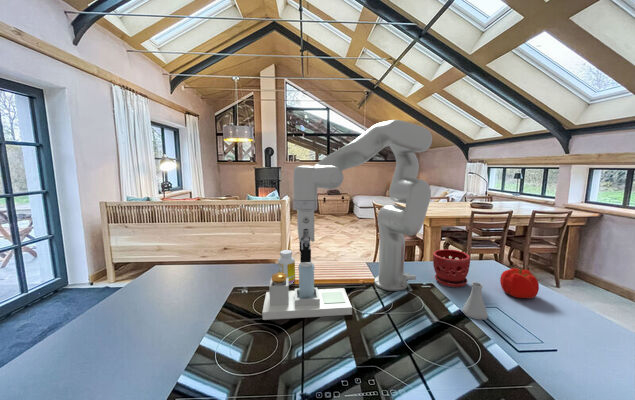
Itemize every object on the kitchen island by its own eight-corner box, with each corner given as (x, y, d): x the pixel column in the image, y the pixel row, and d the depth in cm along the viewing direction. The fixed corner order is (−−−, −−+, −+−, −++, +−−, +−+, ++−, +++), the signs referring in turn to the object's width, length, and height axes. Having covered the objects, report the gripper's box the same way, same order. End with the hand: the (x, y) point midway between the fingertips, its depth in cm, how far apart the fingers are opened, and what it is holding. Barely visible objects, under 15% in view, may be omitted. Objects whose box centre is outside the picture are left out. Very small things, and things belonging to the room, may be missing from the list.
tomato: (521, 304, 90) (524, 279, 89) (491, 288, 102) (493, 265, 101) (546, 301, 92) (549, 276, 91) (514, 285, 104) (517, 263, 103)
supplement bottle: (296, 278, 111) (296, 249, 109) (293, 286, 104) (293, 254, 103) (280, 278, 112) (280, 248, 110) (276, 285, 105) (275, 254, 103)
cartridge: (313, 295, 92) (313, 259, 90) (315, 302, 87) (314, 264, 86) (298, 295, 92) (298, 259, 90) (299, 303, 87) (298, 265, 85)
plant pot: (448, 273, 116) (450, 246, 114) (475, 286, 103) (478, 257, 102) (424, 278, 111) (426, 250, 109) (450, 292, 99) (452, 261, 97)
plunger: (287, 295, 91) (286, 272, 90) (286, 302, 87) (286, 278, 85) (272, 295, 91) (272, 273, 90) (271, 303, 86) (271, 279, 85)
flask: (484, 310, 87) (487, 281, 86) (490, 322, 80) (493, 291, 79) (459, 306, 90) (462, 278, 88) (463, 318, 83) (466, 287, 81)
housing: (344, 294, 98) (344, 271, 96) (351, 314, 85) (352, 287, 84) (266, 298, 95) (265, 274, 94) (262, 319, 82) (261, 292, 81)
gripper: (319, 209, 77) (318, 266, 79) (314, 201, 94) (314, 248, 96) (293, 209, 76) (293, 266, 78) (293, 201, 93) (293, 248, 95)
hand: (304, 256), depth 87 cm, fingers open, 9 cm apart
